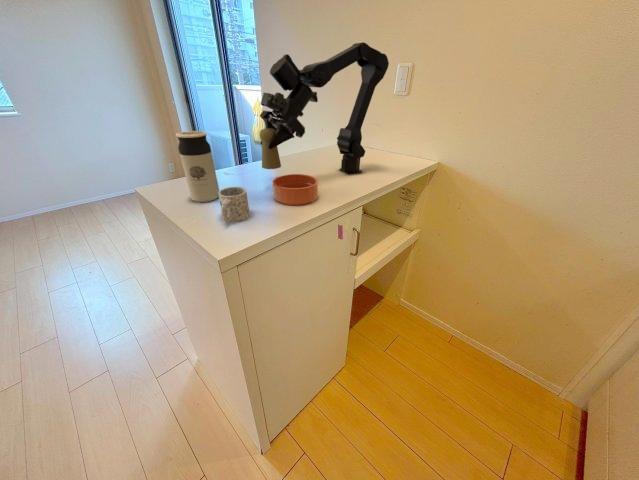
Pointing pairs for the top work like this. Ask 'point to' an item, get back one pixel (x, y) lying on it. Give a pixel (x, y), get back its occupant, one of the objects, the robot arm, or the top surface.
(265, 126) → the robot arm
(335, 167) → the top surface
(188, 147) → the travel mug
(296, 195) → the orange brown bowl
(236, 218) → the mug
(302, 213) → the top surface
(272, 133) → the cork
